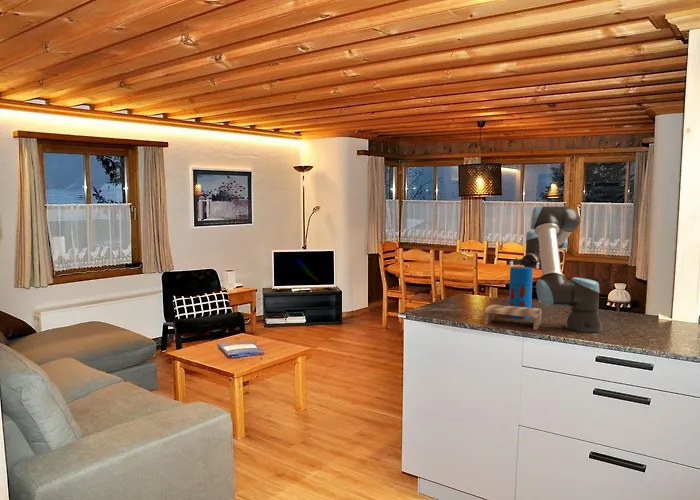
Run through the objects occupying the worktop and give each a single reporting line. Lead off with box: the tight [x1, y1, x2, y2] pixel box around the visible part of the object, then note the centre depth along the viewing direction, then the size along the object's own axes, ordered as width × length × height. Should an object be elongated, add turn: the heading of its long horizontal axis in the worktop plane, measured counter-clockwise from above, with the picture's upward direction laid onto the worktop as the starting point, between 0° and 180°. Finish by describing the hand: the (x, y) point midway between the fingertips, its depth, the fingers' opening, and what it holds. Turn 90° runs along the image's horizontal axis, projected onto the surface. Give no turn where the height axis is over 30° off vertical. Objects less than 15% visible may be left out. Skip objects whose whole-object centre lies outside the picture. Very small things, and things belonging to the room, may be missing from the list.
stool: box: [484, 303, 542, 330], centre depth 266 cm, size 24×14×7 cm, turn 64°
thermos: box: [508, 266, 534, 320], centre depth 280 cm, size 11×11×25 cm
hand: (523, 265), depth 289 cm, fingers open, 13 cm apart
